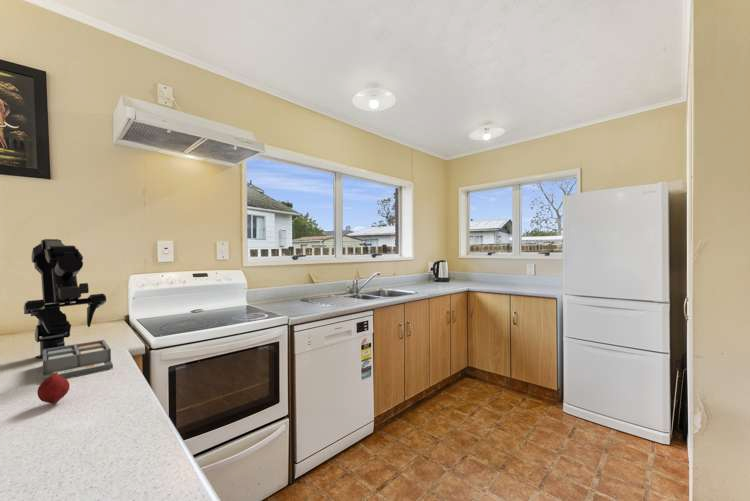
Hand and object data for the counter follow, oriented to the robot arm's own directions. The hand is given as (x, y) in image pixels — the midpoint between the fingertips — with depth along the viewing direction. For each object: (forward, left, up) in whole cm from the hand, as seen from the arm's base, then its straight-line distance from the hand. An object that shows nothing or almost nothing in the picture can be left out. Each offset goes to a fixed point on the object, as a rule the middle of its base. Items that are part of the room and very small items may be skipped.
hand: (69, 329), depth 103 cm
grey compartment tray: (-4, +5, -14) cm, 15 cm away
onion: (+16, -18, -14) cm, 28 cm away
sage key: (-5, +1, -11) cm, 12 cm away
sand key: (0, +7, -11) cm, 13 cm away
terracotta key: (-6, +12, -11) cm, 17 cm away
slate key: (-11, +6, -11) cm, 16 cm away
